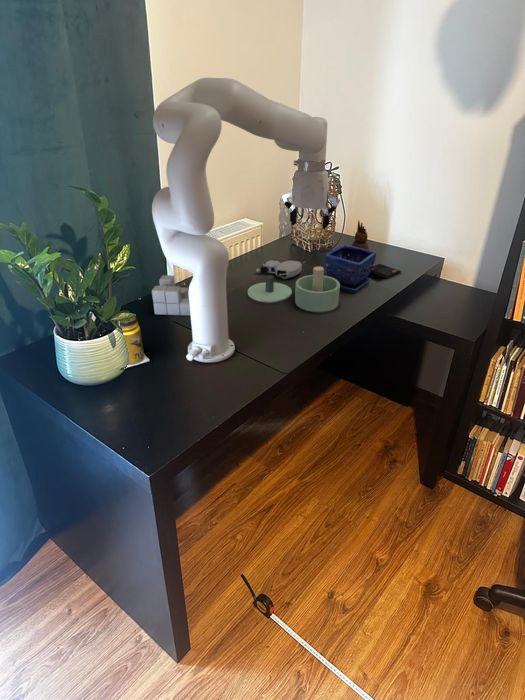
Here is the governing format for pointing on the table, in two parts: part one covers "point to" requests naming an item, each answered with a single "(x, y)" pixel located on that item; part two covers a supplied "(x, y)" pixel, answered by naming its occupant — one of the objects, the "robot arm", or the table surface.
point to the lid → (269, 291)
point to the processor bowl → (317, 294)
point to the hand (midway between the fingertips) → (309, 225)
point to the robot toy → (282, 268)
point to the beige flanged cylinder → (318, 279)
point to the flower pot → (350, 266)
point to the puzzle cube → (170, 298)
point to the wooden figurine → (360, 238)
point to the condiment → (133, 341)
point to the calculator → (384, 271)
